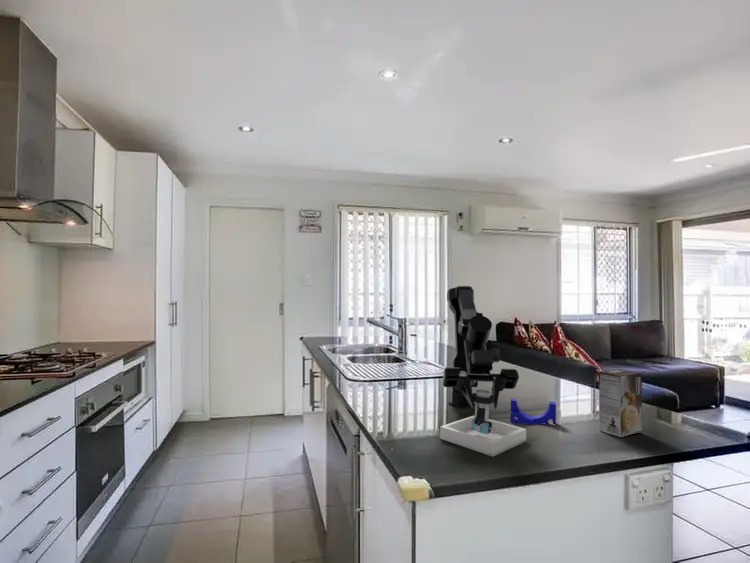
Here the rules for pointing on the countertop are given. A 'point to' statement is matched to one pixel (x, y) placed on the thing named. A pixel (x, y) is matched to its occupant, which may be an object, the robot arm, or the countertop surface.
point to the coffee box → (620, 401)
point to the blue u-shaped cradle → (531, 419)
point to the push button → (482, 412)
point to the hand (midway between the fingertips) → (484, 407)
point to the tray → (483, 436)
